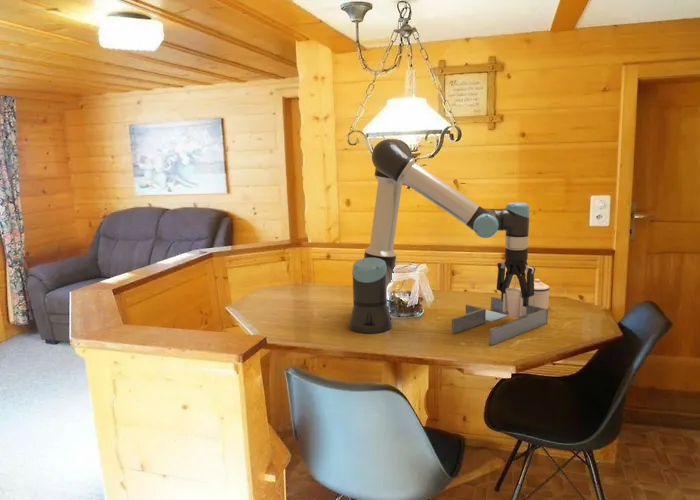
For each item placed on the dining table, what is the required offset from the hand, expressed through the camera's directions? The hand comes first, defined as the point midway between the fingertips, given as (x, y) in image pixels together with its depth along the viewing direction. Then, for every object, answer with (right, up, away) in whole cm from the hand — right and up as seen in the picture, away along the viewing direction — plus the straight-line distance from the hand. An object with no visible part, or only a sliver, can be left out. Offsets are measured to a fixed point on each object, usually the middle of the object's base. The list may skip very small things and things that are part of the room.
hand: (514, 312), depth 192 cm
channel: (-8, -4, -2) cm, 9 cm away
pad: (-7, -2, +9) cm, 11 cm away
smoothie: (0, -1, 0) cm, 1 cm away
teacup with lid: (+12, -1, +16) cm, 20 cm away
